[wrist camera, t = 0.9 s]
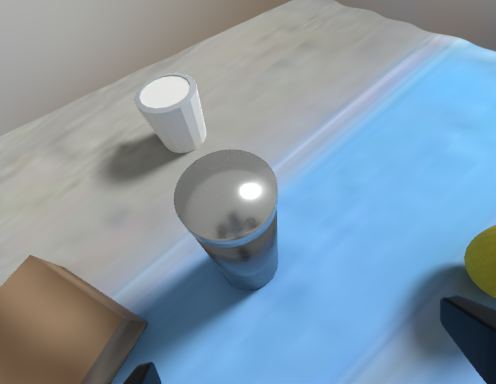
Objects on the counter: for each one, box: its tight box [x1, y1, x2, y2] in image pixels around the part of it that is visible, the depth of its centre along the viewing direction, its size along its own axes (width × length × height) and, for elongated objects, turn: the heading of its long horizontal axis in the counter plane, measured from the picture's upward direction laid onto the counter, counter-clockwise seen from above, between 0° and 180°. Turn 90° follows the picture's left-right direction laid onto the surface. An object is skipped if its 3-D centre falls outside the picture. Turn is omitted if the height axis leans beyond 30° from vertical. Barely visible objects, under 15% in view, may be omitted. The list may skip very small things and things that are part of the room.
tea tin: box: [174, 150, 278, 290], centre depth 18 cm, size 5×5×12 cm
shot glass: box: [134, 72, 206, 153], centre depth 30 cm, size 7×7×7 cm
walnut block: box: [0, 255, 148, 384], centre depth 19 cm, size 11×11×4 cm
